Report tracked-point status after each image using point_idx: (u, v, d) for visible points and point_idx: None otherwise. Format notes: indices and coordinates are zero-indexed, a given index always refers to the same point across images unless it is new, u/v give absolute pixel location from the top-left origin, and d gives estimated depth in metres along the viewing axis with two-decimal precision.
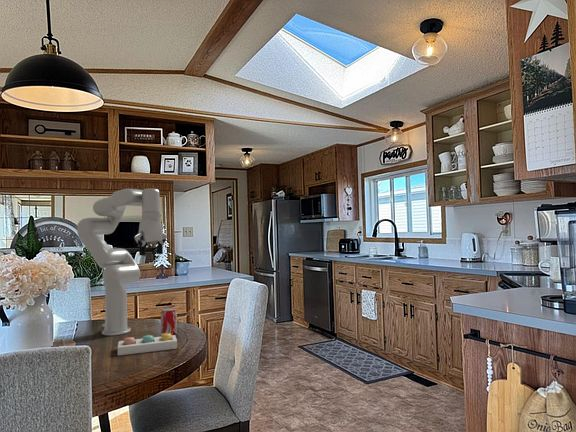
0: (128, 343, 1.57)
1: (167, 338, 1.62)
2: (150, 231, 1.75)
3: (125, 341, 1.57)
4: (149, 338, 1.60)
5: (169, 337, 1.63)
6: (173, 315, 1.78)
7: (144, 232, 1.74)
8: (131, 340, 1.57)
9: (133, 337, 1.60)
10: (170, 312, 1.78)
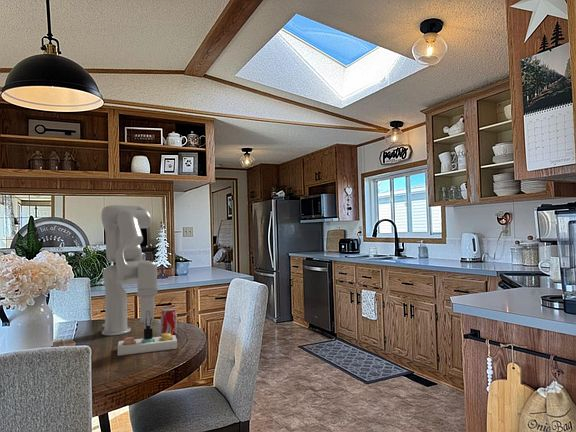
0: (128, 343, 1.57)
1: (167, 338, 1.62)
2: None
3: (125, 341, 1.57)
4: (149, 340, 1.60)
5: (169, 337, 1.63)
6: (173, 315, 1.78)
7: (151, 312, 1.57)
8: (131, 340, 1.57)
9: (133, 337, 1.60)
10: (170, 312, 1.78)
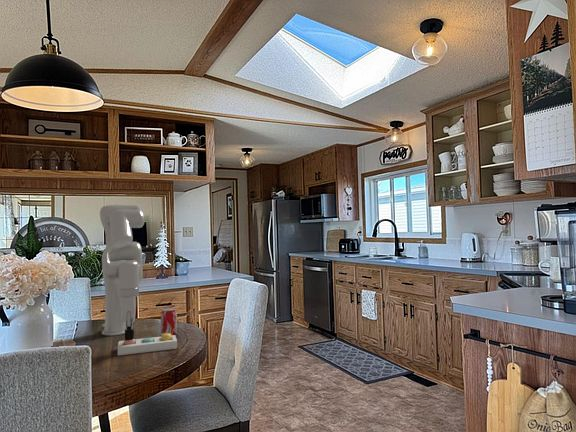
0: (128, 344, 1.57)
1: (167, 338, 1.62)
2: (135, 310, 1.57)
3: (125, 342, 1.57)
4: (149, 341, 1.60)
5: (169, 337, 1.63)
6: (173, 315, 1.78)
7: (132, 312, 1.55)
8: (131, 341, 1.57)
9: None
10: (170, 312, 1.78)
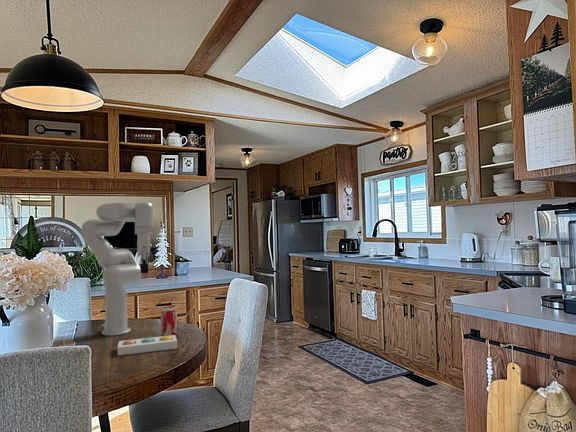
0: None
1: None
2: None
3: (125, 344, 1.57)
4: (149, 341, 1.60)
5: None
6: (173, 315, 1.78)
7: (147, 247, 1.71)
8: (131, 343, 1.57)
9: (133, 340, 1.60)
10: (170, 312, 1.78)
